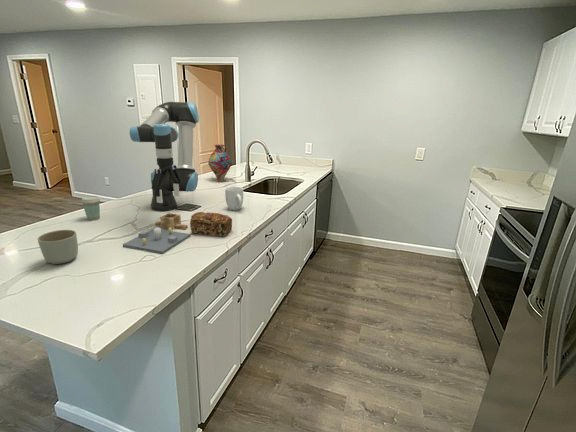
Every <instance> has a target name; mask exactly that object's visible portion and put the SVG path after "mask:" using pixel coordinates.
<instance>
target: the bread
mask: <svg viewBox="0 0 576 432" xmlns="http://www.w3.org/2000/svg"><path fill="white" fill-rule="evenodd" d="M189 225H190V226H189V227H190V231H191V233H192V234H199V235H202V236H213V237H217V236H218V237H226V236H228V234H229V233H231V231H232V228H233V219H232V217H230V216H229V215H226V214H223V213H218V212H217V213H216V212H203V211H197V212H195V213H194V214H192V215H191V216H190V220H189Z"/></svg>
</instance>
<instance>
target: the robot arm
mask: <svg viewBox="0 0 576 432" xmlns="http://www.w3.org/2000/svg"><path fill="white" fill-rule="evenodd" d="M199 122H200V118H199V111H198V107H197V105H196V104H195V102H188V101H185V102H182V101H167V102H164V103H160V104H159V105H157V106H156V107H155V108H154V109H152V112H151V114H150V115H149V116H148V117H147V118H146V119H145V120H144V121H143V122H142V123H141V124H140V125H139V126H137V125H136V126H131V127H130V128H129V137H130V139H131V141H133V142H137V143H154V145H155V156H156V165H157V166H158V168H154V170H153V171H152V172H151V173H150V182H151V190H152V191H151V193H152V198H151V203H150V209H151V210H152V211H155V212H167V211H173V210H175V209H177V207H178V203H177V199H176V198H175V197H180V192H186V193H188V192H189V193H190V192H194V191H195V190H196V189H197V187H198V182H199V174H198V172H196V169H195V168H194V167H193V164H194V163H193V162H194V161H193V160H194V159H193V158H194V128H196V127H197V124H198V123H199ZM167 123H175V125H176V126H177V127H178V128H177V129H178V130H177V129H176V128H174V127H172V126H171V124H167ZM176 141H178V142H177V145H178V146H177V165H176V164H174V157H173V155H174V154H173V143H175V142H176Z"/></svg>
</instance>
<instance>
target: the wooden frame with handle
mask: <svg viewBox="0 0 576 432" xmlns="http://www.w3.org/2000/svg"><path fill="white" fill-rule="evenodd" d="M159 219H160V220H157V221H155V222H154V224H155V226H158V227H160V228H161V229H163V230H169V228H171V230H172V231H174V230H175V229H178V230H183V231H184V230H187V229H188V225H187V224H182V219H181V214H178V213H172V212H171V213H170V212H168V213H165V214H164V215H162V216H160V218H159Z"/></svg>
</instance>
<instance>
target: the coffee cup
mask: <svg viewBox="0 0 576 432" xmlns="http://www.w3.org/2000/svg"><path fill="white" fill-rule="evenodd" d="M100 200H101V199H100V198H99V197H98V196H97V195H87V196H84V197H82V198H81V204H82V206H83V210H84V212H85V216H86V219H87V220H88V221H97V220H99V219H100V218H101V213H100V212H101V210H100V209H101V208H100Z"/></svg>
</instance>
